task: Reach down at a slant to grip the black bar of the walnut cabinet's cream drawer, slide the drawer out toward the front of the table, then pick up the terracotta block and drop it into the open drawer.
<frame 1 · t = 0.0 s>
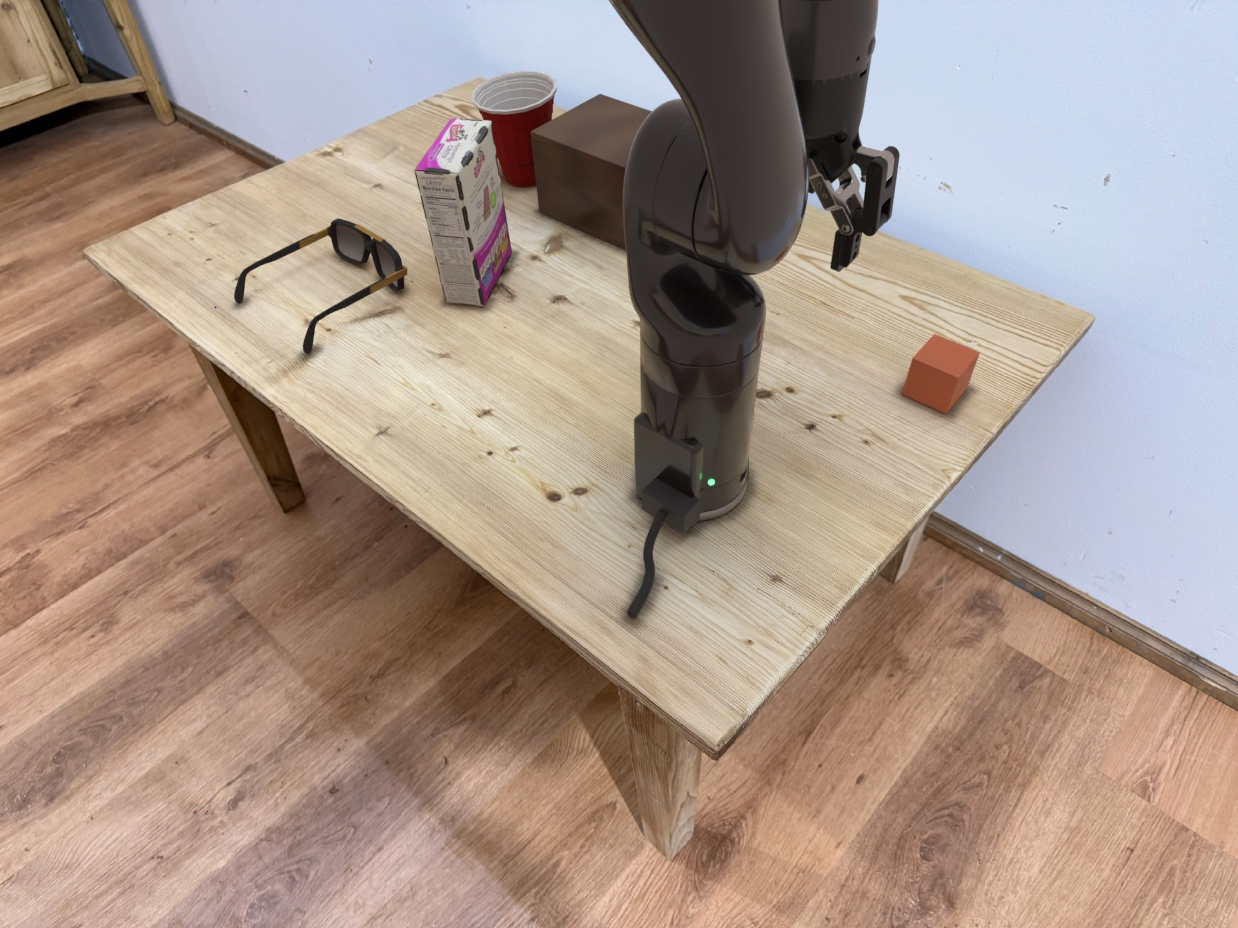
hand: (795, 247, 70), 17 cm above the table, tool pointing down, fingers open, 8 cm apart
block: (934, 391, 83), on the table
drawer: (645, 183, 101), point 5 cm above the table, slide at 1.0 cm
candy bar box: (479, 279, 98), on the table
plastic cup: (524, 178, 114), on the table
cabinet: (615, 209, 107), on the table
sunglasses: (329, 298, 96), on the table
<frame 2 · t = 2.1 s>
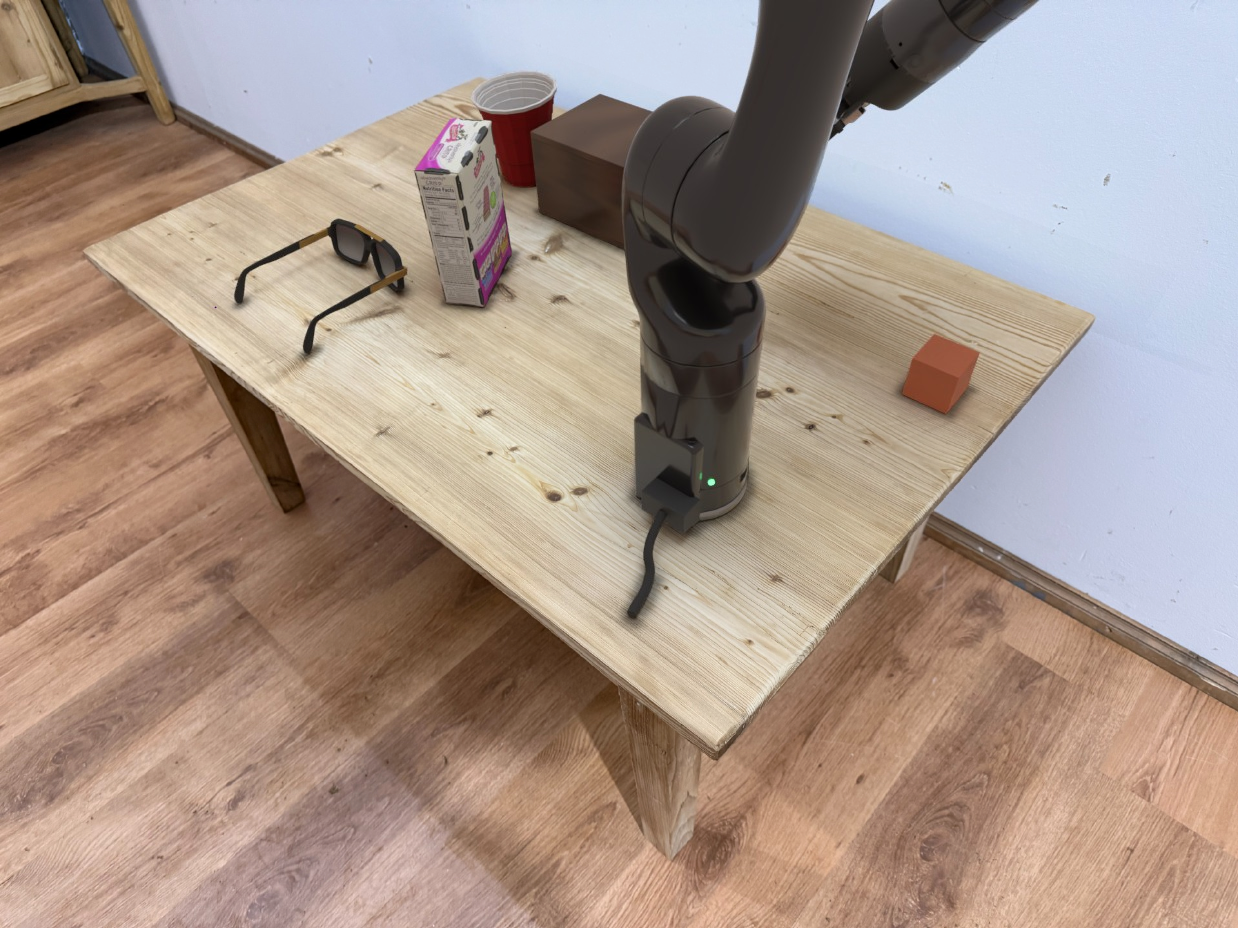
hand: (785, 145, 83), 17 cm above the table, tool tilted 40°, fingers open, 8 cm apart
nothing on the table moved.
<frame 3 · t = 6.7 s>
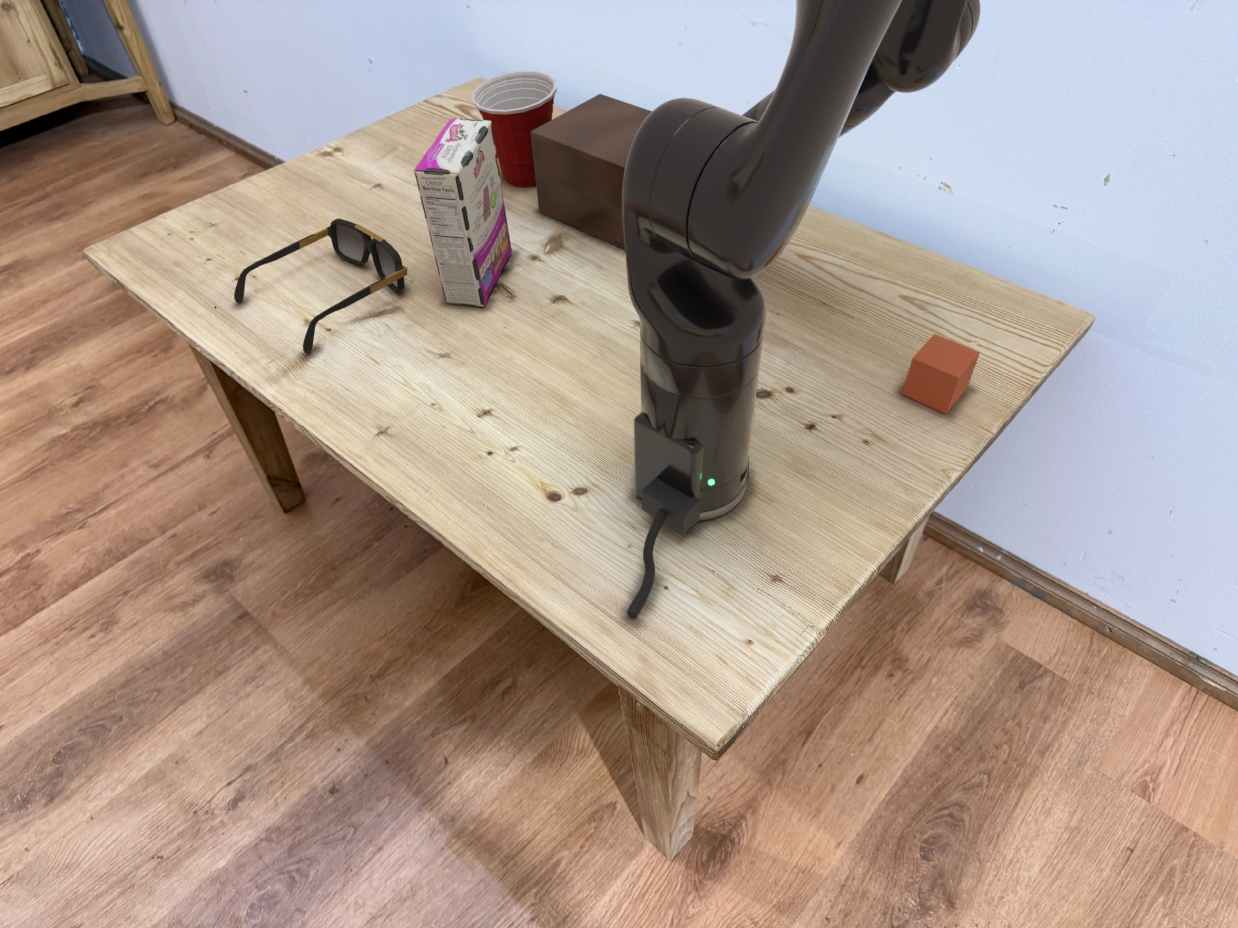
hand: (687, 199, 98), 5 cm above the table, tool tilted 45°, fingers closed on drawer, 5 cm apart
drawer: (645, 183, 101), point 5 cm above the table, slide at 1.0 cm, touching gripper
everything else where it was.
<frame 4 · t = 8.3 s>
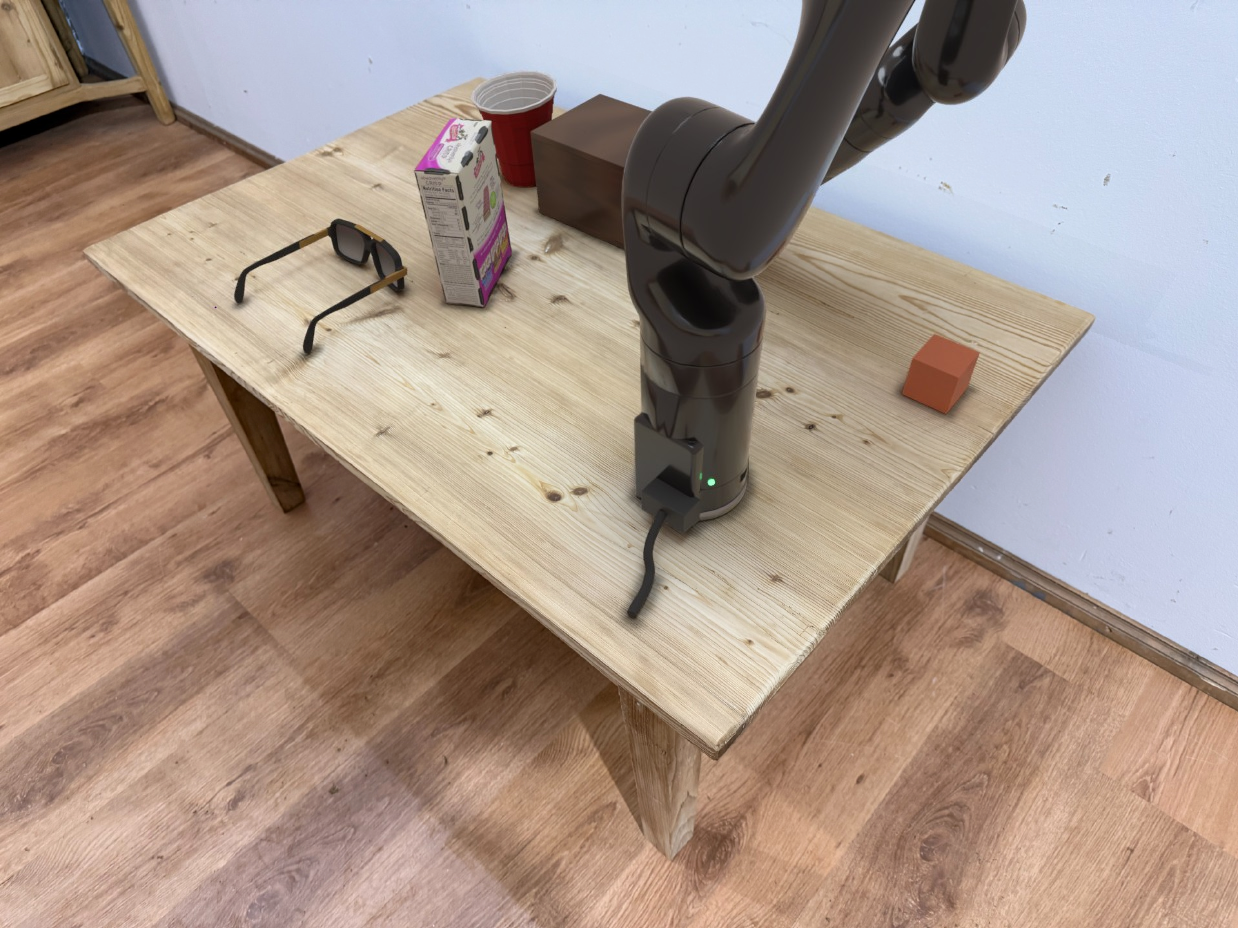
hand: (714, 210, 97), 5 cm above the table, tool tilted 45°, fingers closed on drawer, 5 cm apart
drawer: (671, 193, 99), point 5 cm above the table, slide at 4.9 cm, touching gripper
everything else where it was.
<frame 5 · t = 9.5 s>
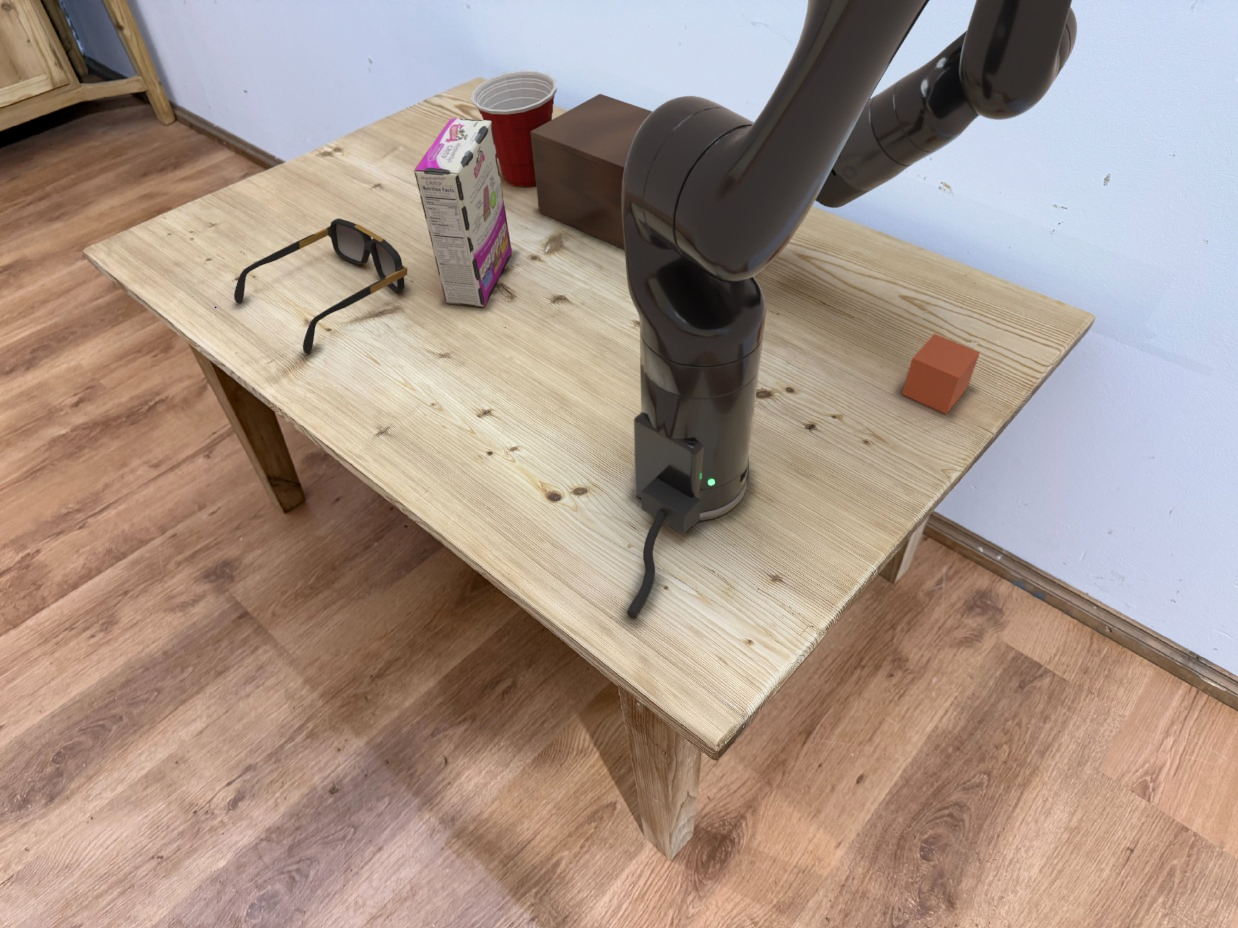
hand: (744, 221, 95), 5 cm above the table, tool tilted 45°, fingers closed on drawer, 5 cm apart
drawer: (699, 203, 98), point 5 cm above the table, slide at 8.8 cm, touching gripper
everything else where it was.
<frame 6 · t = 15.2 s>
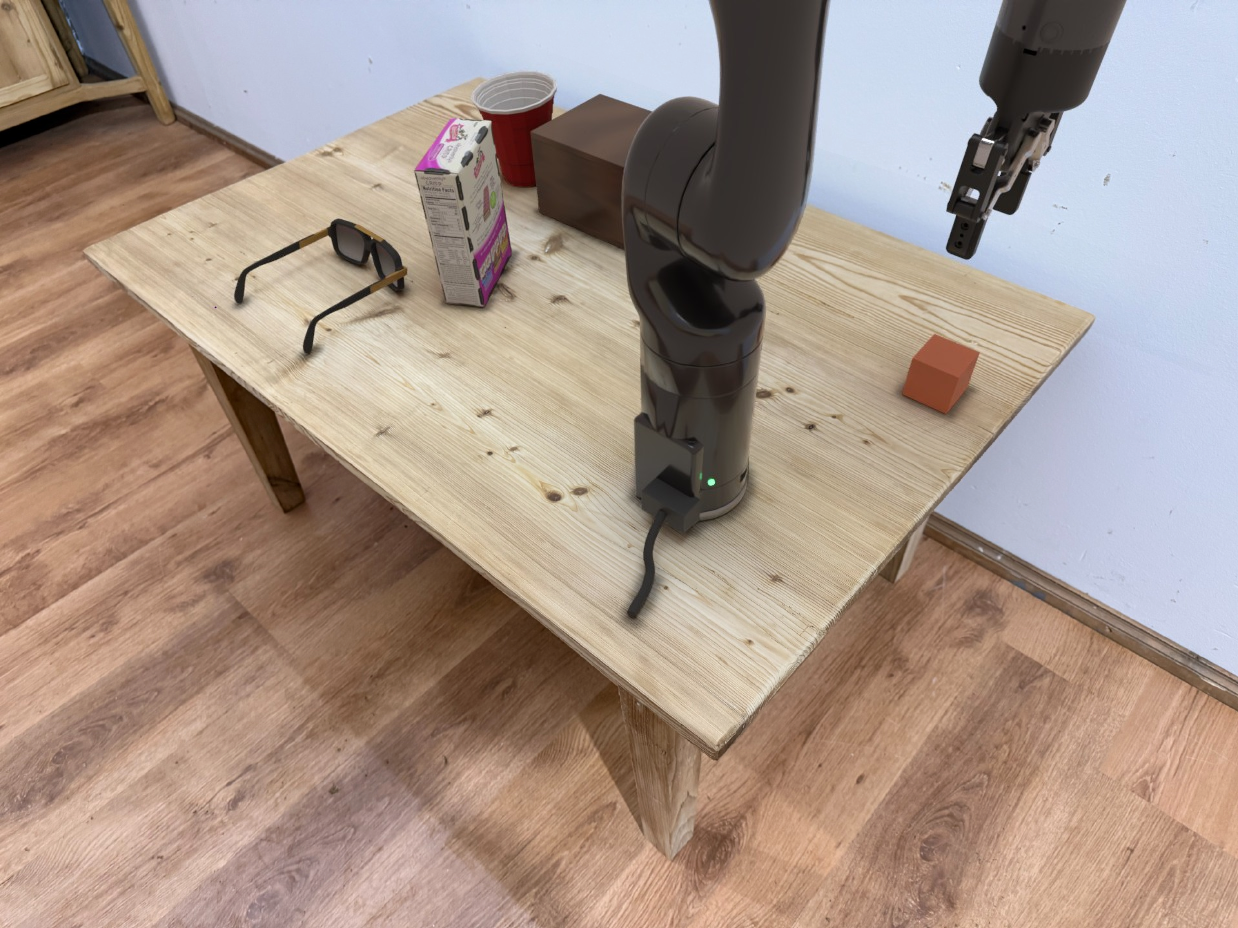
hand: (981, 232, 70), 18 cm above the table, tool pointing down, fingers open, 8 cm apart
drawer: (696, 202, 98), point 5 cm above the table, slide at 8.5 cm
everything else where it was.
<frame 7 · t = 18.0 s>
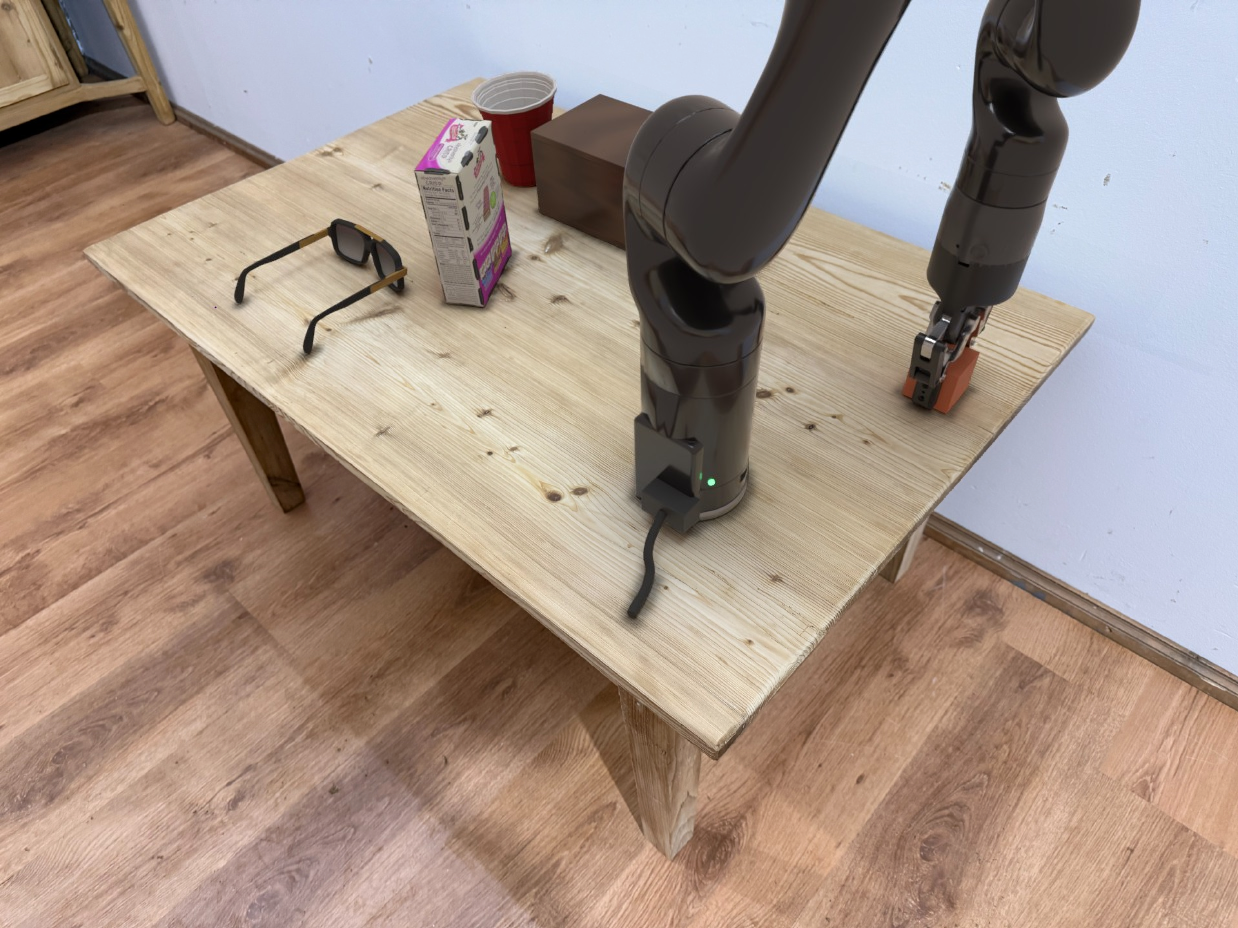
hand: (935, 388, 83), 0 cm above the table, tool pointing down, fingers closed on block, 4 cm apart
block: (934, 391, 83), on the table, touching gripper
everything else where it was.
when the fingers open (11 cm above the table, at t = 24.5 s): block drops 9 cm, resting on drawer.
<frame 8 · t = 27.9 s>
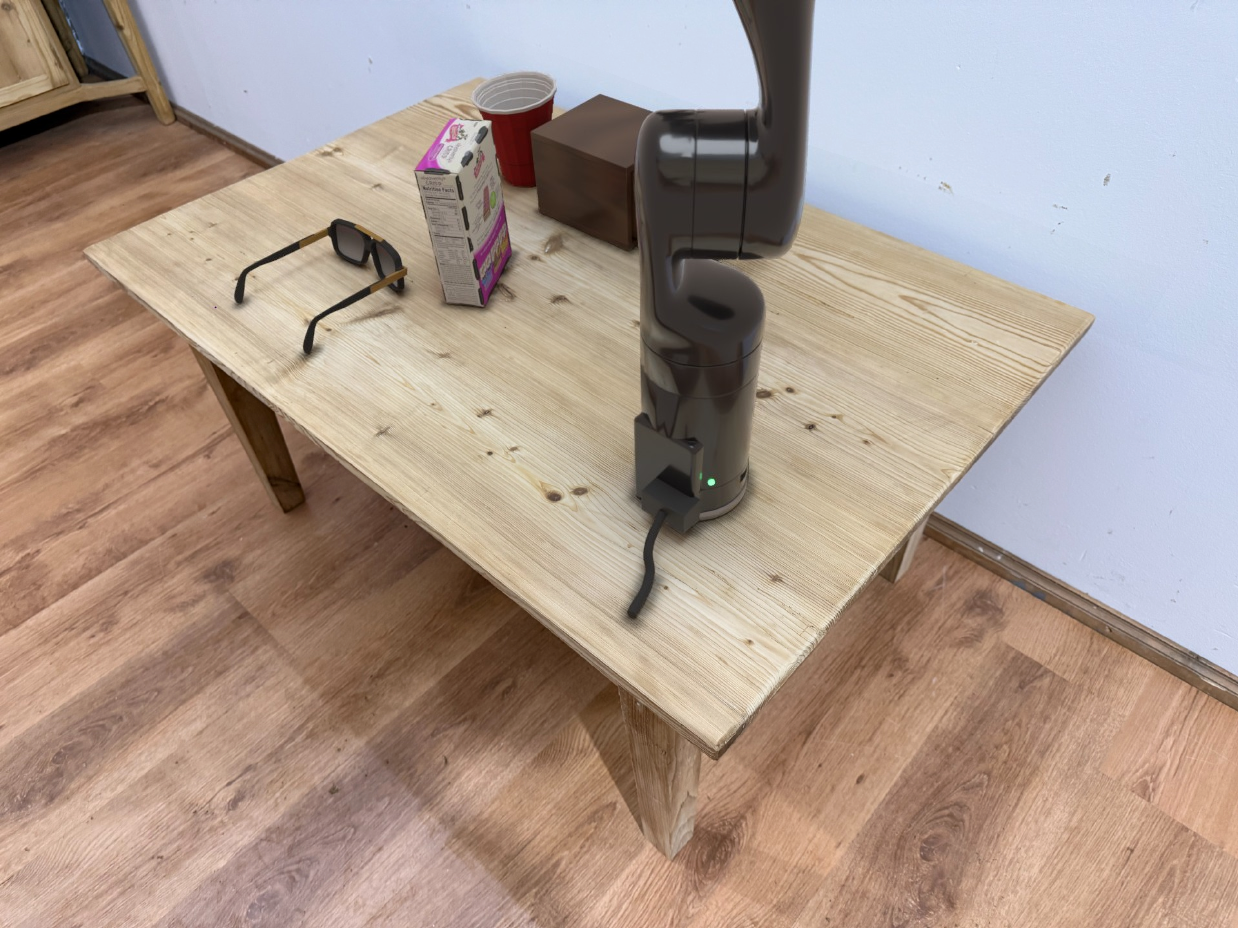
block: (692, 226, 100), point 2 cm above the table, touching drawer
drawer: (696, 202, 98), point 5 cm above the table, slide at 8.5 cm, touching block
everything else where it was.
at the end: drawer slide at 8.5 cm; block inside the target area in the cabinet (7.1 cm from its centre), point 2.0 cm above the cabinet's base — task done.
